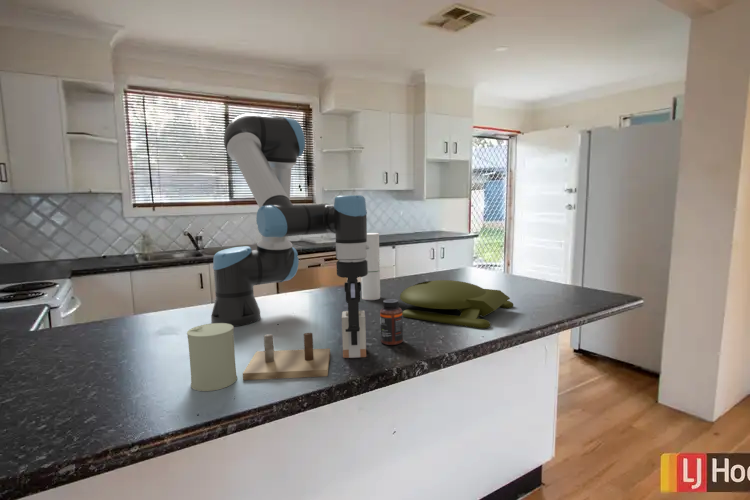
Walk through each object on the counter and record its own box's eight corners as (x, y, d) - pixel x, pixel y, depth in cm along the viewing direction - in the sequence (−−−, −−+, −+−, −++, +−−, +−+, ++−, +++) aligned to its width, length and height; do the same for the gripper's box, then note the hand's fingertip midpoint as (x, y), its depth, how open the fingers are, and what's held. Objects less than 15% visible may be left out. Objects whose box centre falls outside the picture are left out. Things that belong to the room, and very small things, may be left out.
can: (199, 373, 92) (195, 321, 91) (241, 371, 93) (238, 319, 92) (184, 392, 83) (179, 335, 82) (230, 390, 84) (227, 332, 83)
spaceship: (515, 307, 144) (515, 279, 143) (487, 331, 118) (488, 298, 117) (424, 296, 163) (423, 272, 161) (383, 315, 137) (382, 286, 136)
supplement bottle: (405, 339, 112) (405, 298, 111) (399, 346, 106) (398, 303, 105) (384, 337, 114) (383, 297, 113) (377, 344, 108) (376, 302, 107)
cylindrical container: (381, 295, 164) (379, 232, 161) (379, 300, 157) (378, 234, 154) (363, 295, 164) (361, 233, 162) (360, 300, 157) (359, 234, 154)
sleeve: (343, 357, 100) (341, 317, 99) (343, 349, 105) (342, 311, 104) (366, 356, 100) (365, 316, 99) (365, 348, 106) (364, 310, 104)
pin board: (243, 380, 88) (240, 346, 88) (256, 357, 101) (254, 327, 100) (327, 376, 89) (326, 342, 89) (330, 354, 102) (329, 324, 101)
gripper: (369, 265, 90) (371, 366, 93) (365, 253, 110) (367, 337, 113) (334, 266, 90) (338, 367, 92) (337, 254, 110) (340, 338, 112)
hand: (354, 350), depth 103 cm, fingers open, 7 cm apart
